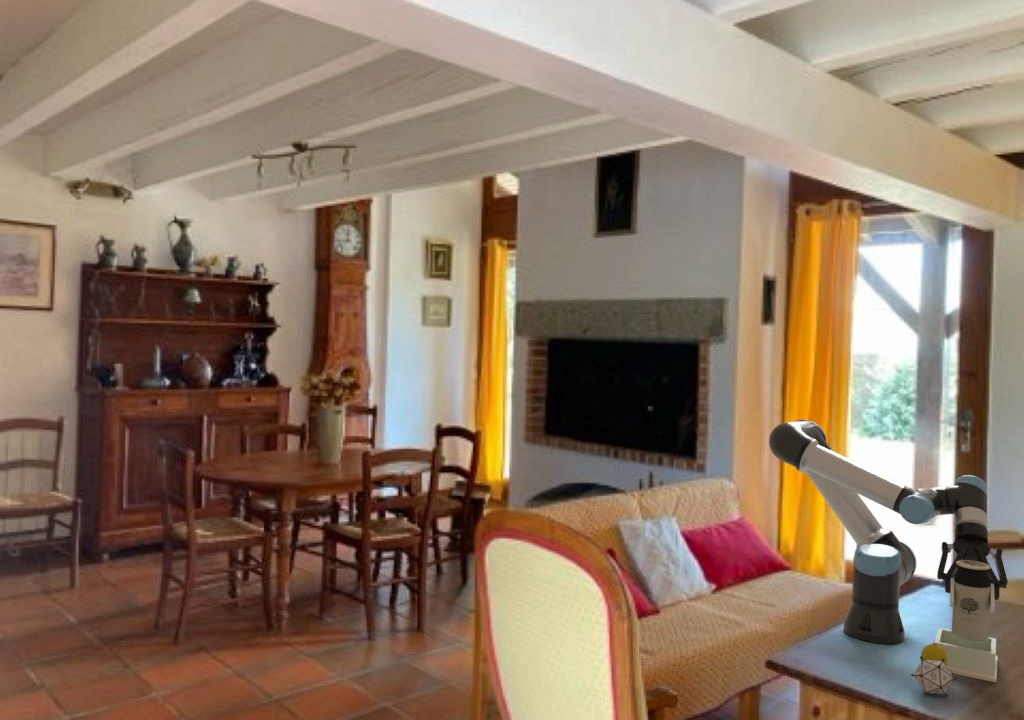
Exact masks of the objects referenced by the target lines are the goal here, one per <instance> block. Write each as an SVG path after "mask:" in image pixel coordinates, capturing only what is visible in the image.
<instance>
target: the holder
mask: <svg viewBox="0 0 1024 720" xmlns="http://www.w3.org/2000/svg"><path fill="white" fill-rule="evenodd" d="M934 643H936V644H937V645H939V646H940V647H941V648H942V649H943V650H944V651H945V654H946V657H947V665H946V667H947V668H948V670H949V671H950V673H951V674H953V673H954V675H957V676H958V675H959V676H963V677H967V678H974V679H978V680H983V681H988V682H992V683H997V681H998V680H997V679H998V677H997V676H998V655H996V653H997V652H996V651H997V650H996V649H997V638H996V637H995V638H994V637H990V636H988V639H987V640H983V641H972V640H967V639H963V638H960V637H957V636H956V635H954V634H953V633H952V629H948V628H943V627H941V628H940V627H938V629H937V633H936V636H935V639H934Z"/></svg>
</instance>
